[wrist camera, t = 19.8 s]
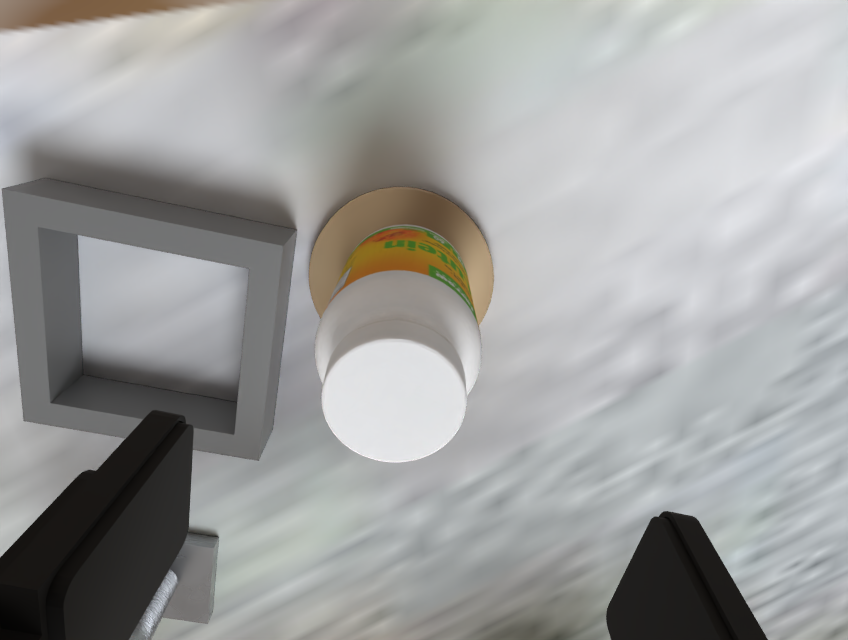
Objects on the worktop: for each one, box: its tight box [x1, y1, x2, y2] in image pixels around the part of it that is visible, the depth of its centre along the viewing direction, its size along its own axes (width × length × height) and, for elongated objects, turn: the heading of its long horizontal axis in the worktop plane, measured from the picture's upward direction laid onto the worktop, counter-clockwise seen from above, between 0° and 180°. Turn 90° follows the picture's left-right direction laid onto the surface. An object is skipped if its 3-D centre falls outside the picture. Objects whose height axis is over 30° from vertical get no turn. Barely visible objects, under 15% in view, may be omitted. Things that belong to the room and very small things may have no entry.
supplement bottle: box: [315, 224, 482, 462], centre depth 19 cm, size 5×5×10 cm
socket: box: [2, 178, 297, 461], centre depth 24 cm, size 10×10×2 cm
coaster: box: [309, 187, 494, 325], centre depth 24 cm, size 8×8×1 cm
